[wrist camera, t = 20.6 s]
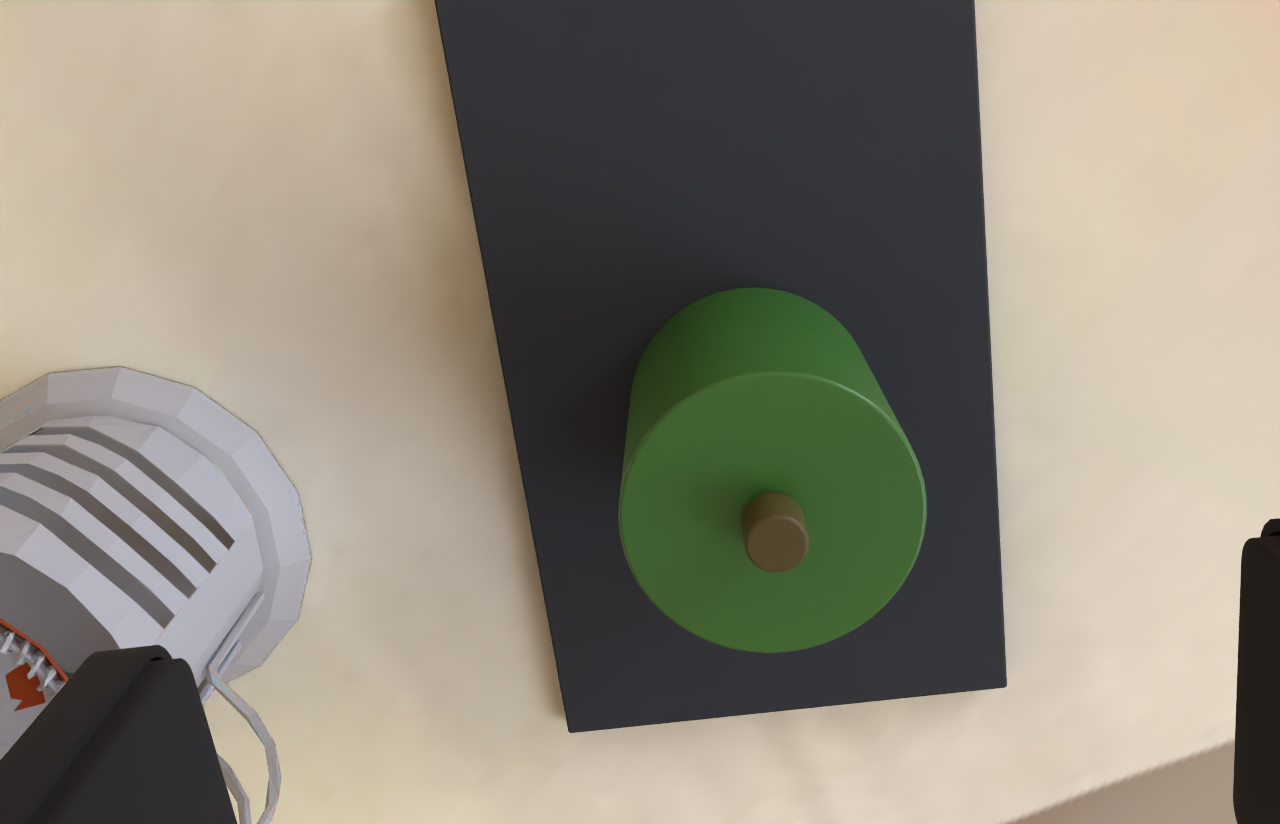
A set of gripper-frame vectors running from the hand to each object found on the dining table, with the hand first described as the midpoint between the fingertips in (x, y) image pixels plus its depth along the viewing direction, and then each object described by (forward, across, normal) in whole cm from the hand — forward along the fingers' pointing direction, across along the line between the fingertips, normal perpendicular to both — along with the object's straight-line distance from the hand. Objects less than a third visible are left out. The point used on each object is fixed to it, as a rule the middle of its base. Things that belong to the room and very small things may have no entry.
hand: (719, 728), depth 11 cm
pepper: (+19, -1, +4) cm, 20 cm away
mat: (+20, -1, +3) cm, 20 cm away
